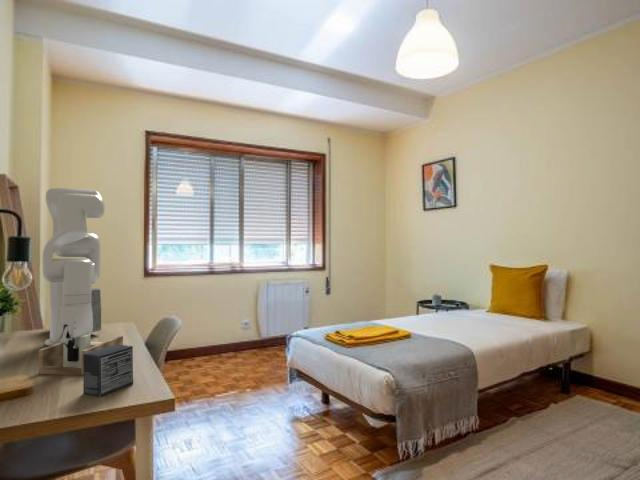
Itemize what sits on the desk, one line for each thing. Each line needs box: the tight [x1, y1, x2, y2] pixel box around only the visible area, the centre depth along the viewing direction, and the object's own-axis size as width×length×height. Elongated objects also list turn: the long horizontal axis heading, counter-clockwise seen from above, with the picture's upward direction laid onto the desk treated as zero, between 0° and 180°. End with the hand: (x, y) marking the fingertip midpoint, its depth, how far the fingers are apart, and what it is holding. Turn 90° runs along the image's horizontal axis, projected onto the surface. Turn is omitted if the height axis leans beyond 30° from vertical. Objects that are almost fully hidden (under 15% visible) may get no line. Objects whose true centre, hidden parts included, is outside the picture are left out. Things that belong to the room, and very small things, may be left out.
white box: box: [62, 334, 92, 367], centre depth 125 cm, size 2×7×10 cm, turn 86°
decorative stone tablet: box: [91, 287, 102, 333], centre depth 176 cm, size 19×6×30 cm
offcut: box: [90, 341, 104, 347], centre depth 134 cm, size 4×7×2 cm, turn 86°
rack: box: [38, 335, 124, 376], centre depth 128 cm, size 20×14×7 cm
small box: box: [82, 344, 134, 398], centre depth 107 cm, size 11×6×10 cm, turn 157°
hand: (76, 359), depth 125 cm, fingers open, 2 cm apart
